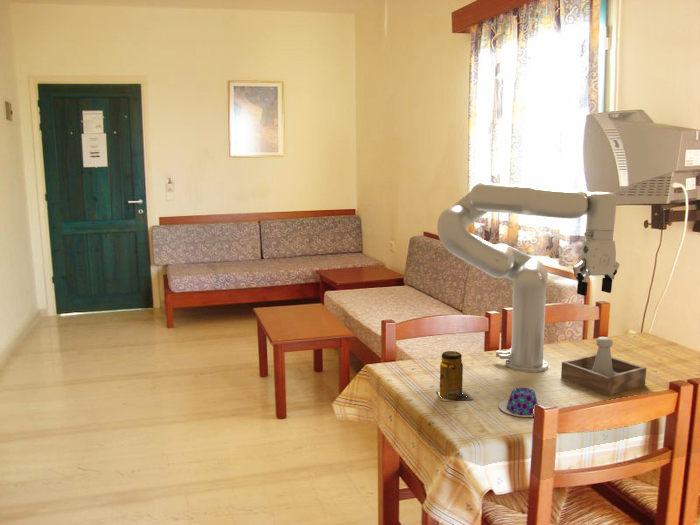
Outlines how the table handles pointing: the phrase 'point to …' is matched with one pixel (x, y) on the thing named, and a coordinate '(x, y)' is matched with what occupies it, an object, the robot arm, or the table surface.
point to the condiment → (452, 377)
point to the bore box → (620, 381)
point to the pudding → (520, 402)
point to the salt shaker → (603, 357)
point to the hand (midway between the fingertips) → (594, 293)
